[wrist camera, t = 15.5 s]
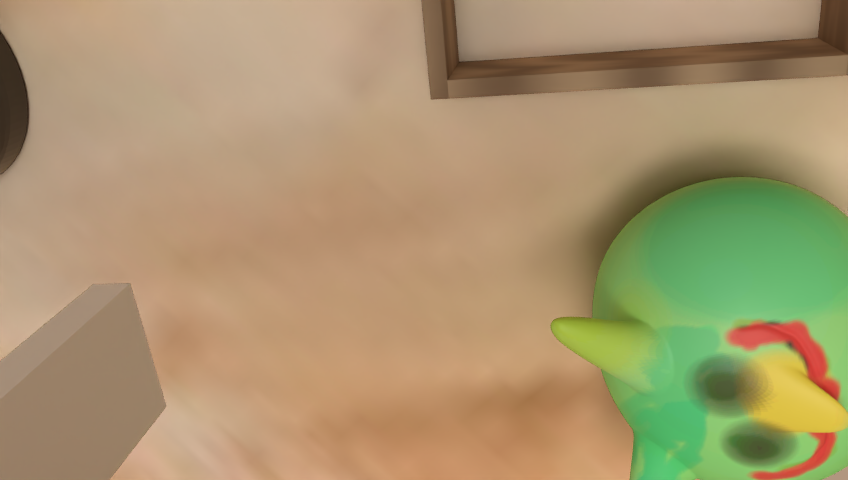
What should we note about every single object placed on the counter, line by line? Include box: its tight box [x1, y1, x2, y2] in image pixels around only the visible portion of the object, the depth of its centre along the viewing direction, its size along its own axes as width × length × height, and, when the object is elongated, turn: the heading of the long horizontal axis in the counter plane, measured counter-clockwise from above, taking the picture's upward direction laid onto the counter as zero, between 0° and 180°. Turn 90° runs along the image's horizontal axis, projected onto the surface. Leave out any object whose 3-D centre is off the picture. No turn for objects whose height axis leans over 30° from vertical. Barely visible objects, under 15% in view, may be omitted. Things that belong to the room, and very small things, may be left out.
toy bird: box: [551, 177, 848, 480], centre depth 42 cm, size 18×17×15 cm
